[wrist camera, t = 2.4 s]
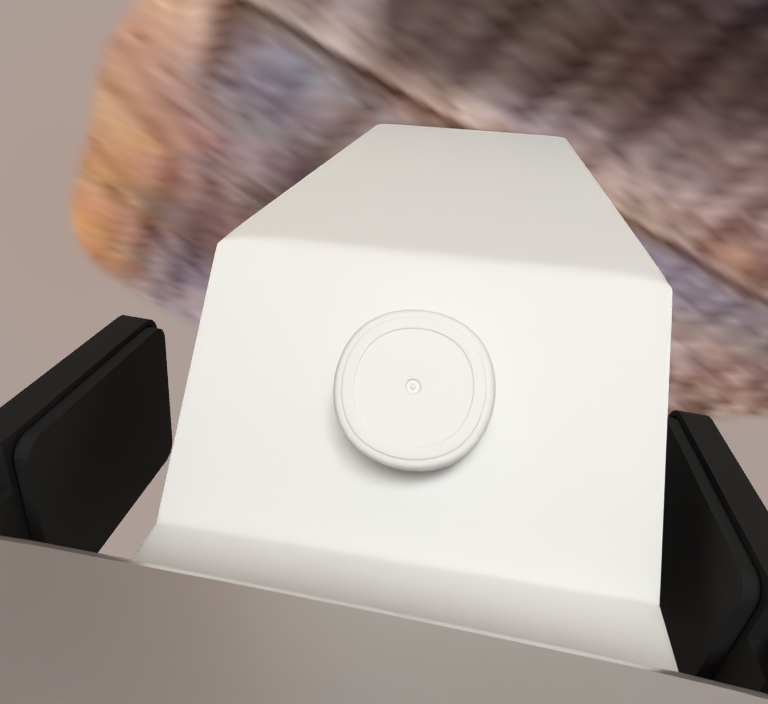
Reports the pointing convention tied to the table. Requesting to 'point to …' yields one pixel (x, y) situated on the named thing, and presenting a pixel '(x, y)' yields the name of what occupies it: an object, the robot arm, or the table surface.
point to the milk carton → (435, 396)
